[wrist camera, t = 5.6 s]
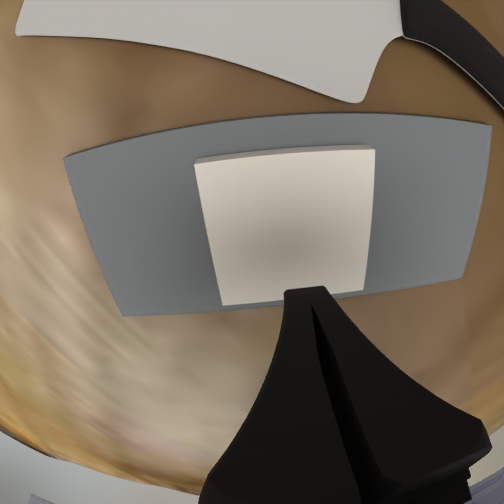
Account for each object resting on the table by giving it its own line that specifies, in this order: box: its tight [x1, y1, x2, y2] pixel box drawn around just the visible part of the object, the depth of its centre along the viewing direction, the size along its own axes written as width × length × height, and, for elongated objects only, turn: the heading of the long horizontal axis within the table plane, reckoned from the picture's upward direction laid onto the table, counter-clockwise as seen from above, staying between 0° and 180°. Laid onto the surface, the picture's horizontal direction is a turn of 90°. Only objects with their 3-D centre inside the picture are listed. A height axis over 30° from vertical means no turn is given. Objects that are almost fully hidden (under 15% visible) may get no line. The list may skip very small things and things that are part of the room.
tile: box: [194, 145, 375, 306], centre depth 15 cm, size 8×1×8 cm
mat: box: [63, 112, 492, 316], centre depth 16 cm, size 11×24×1 cm, turn 96°
